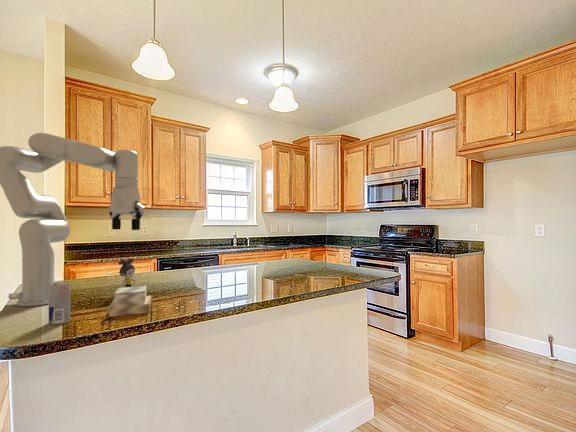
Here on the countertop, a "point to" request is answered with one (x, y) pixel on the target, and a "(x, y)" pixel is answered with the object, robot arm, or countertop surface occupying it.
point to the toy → (127, 272)
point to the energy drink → (59, 303)
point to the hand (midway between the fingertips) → (125, 229)
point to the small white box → (130, 301)
